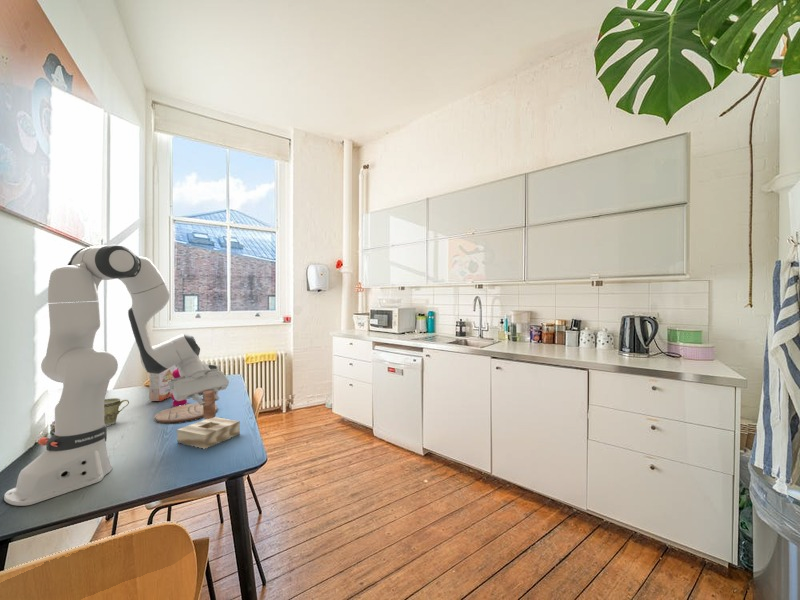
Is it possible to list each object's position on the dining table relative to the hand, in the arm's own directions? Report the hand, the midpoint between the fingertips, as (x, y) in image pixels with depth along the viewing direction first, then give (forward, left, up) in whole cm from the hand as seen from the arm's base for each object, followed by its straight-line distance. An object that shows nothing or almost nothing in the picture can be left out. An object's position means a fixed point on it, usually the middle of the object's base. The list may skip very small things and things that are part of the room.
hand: (210, 402), depth 132 cm
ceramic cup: (-5, +58, -14) cm, 59 cm away
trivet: (+16, +38, -15) cm, 43 cm away
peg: (0, +1, -6) cm, 6 cm away
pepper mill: (+25, +57, -14) cm, 63 cm away
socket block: (0, +1, -14) cm, 14 cm away
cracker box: (+29, +77, -14) cm, 83 cm away
